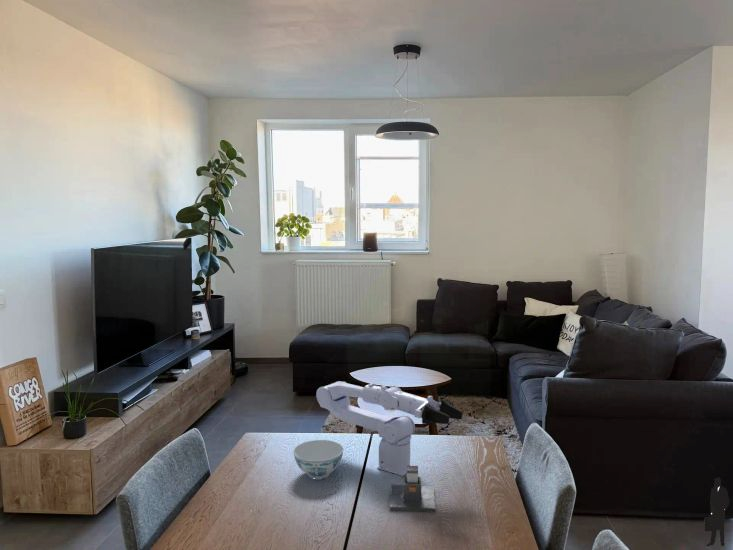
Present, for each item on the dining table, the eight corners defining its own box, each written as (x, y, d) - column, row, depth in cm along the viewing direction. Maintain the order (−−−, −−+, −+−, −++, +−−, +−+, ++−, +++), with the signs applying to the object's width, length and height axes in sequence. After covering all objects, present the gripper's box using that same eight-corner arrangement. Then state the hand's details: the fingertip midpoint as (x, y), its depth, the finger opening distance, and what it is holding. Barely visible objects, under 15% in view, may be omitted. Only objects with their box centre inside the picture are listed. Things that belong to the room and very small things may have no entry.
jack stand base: (389, 510, 140) (389, 490, 139) (391, 488, 152) (391, 469, 151) (435, 512, 139) (435, 492, 138) (433, 489, 150) (433, 471, 150)
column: (406, 498, 144) (406, 470, 143) (407, 492, 147) (407, 465, 146) (418, 498, 143) (418, 470, 143) (417, 492, 146) (417, 465, 146)
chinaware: (284, 481, 156) (284, 455, 155) (308, 460, 170) (308, 437, 169) (330, 490, 151) (329, 464, 150) (351, 468, 164) (351, 444, 164)
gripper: (403, 395, 152) (444, 407, 144) (429, 389, 164) (468, 400, 155) (400, 419, 153) (441, 433, 144) (426, 411, 164) (466, 423, 155)
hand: (455, 417), depth 150 cm, fingers open, 7 cm apart
